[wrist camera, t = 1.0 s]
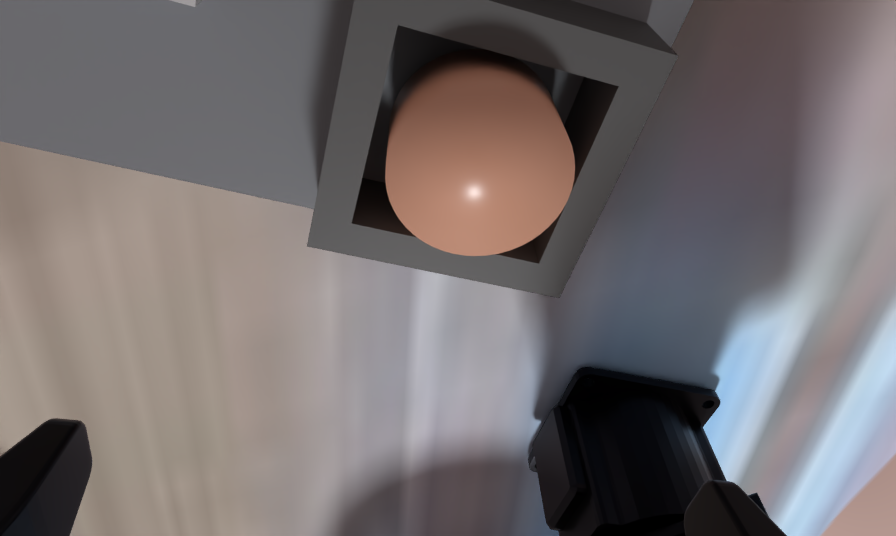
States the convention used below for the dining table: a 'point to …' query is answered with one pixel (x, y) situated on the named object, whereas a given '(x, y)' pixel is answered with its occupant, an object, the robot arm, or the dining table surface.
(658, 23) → the control panel
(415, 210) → the button terracotta
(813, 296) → the dining table surface
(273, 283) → the dining table surface
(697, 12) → the dining table surface
